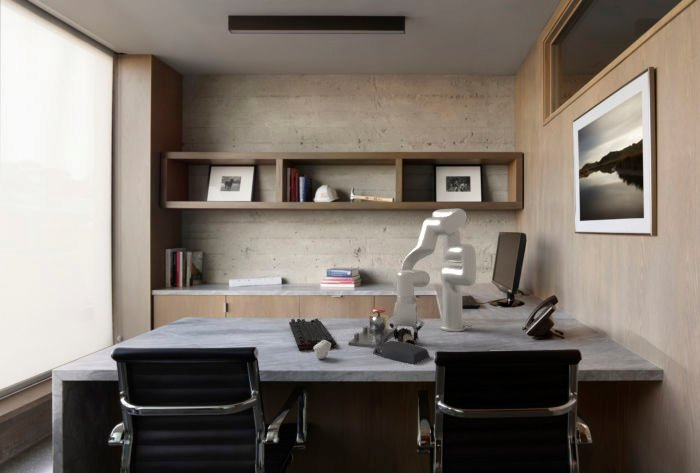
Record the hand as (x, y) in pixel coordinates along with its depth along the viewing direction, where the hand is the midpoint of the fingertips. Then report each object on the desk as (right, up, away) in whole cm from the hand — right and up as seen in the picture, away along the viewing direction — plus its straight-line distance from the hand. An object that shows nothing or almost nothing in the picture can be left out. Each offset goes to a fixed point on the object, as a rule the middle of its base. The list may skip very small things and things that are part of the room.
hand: (405, 339), depth 174 cm
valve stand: (-14, -1, +8) cm, 16 cm away
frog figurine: (-35, -2, -21) cm, 41 cm away
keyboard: (-43, -2, +10) cm, 44 cm away
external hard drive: (-4, -2, -18) cm, 19 cm away
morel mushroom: (0, -2, -2) cm, 2 cm away
